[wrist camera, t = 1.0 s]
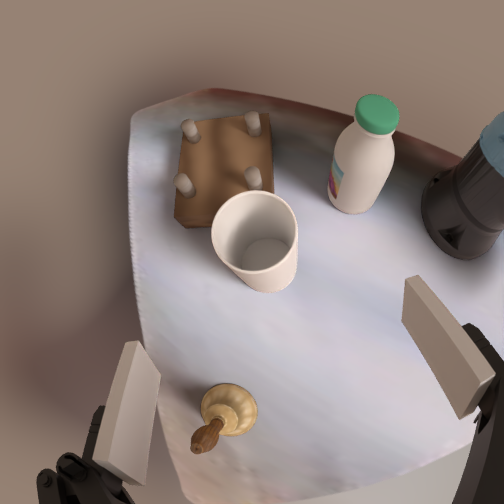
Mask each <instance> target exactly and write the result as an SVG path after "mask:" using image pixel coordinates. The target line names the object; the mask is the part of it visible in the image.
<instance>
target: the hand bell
mask: <svg viewBox="0 0 504 504" xmlns="http://www.w3.org/2000/svg"><path fill="white" fill-rule="evenodd" d="M257 413H258V410H257V404H256V402H255V400H254V398H253V397H252V395H251V394H250V393H249V392H248V391H247V390H245V389H244V388H242V387H240V386H238V385H234V384H220V385H217V386H215V387H213V388H211V389H210V390H209V391H208V392H207V393H206V394H205V395H204V397H203V399H202V402H201V414H202V417H203V419H204V421H205V424H206V425H205V426H202V427H200V428H199V429H197V430H196V431H195V432H194V434H193V436H192V438H191V447H190V449H191V451H192V452H193V453H194V454H201V453H204V452H207V451H210V450H211V449H213V448H214V446H215V445H216V444H217V442H218V439H219V434H220V435H224V436H238V435H241V434H244V433H246V432H247V431H248V430H250V429H251V428H252V426H253V425H254V424H255V422H256V419H257Z"/></svg>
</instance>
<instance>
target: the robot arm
mask: <svg viewBox="0 0 504 504" xmlns="http://www.w3.org/2000/svg"><path fill="white" fill-rule="evenodd" d="M421 209H422V216H423V220H424V223H425V226H426V228H427V231H428V233H429V234H430V236H431V238H432V239H433V240H434V242H435V243H436V244H437V245H438V246H439V247H440V248H441V249H442V250H443V251H444V252H446V253H447V254H449V255H451V256H453V257H455V258H458V259H464V260H468V259H473V258H476V257H478V256H480V255H482V254H484V253H485V252H487V251H488V250H489V249H490V248H491V247H492V245H493V244H494V242H495V241H496V239H497V238H498V236H499V235H500V233H501V231H502V230H503V229H504V112H501V113H500V114H498V115H497V116H496V117H495V118H494V120H493V121H492V122H491V123H490V124H489V125H487V126H486V127H485V128H484V129H483V130H482V132H481V134H480V138H479V139H478V140H477V142H476V143H475V144H474V145H473V147H472V148H471V149H470V150H469V152H468V153H467V154H466V155H465V156H464V158H463V159H462V160H461V161H460V162H459V164H458V165H455V166H453V167H450V168H448V169H445V170H443V171H441V172H439V173H437V174H436V175H435V176H434V177H433V178H432V179H431V181H430V182H429V183H428V184H427V186H426V188H425V190H424V192H423V195H422V202H421ZM401 321H402V323H403V324H404V326H405V327H406V329H407V331H408V332H409V334H410V335H411V337H412V338H413V340H414V342H415V343H416V345H417V347H418V348H419V350H420V351H421V353H422V355H423V356H424V358H425V360H426V361H427V363H428V365H429V366H430V368H431V370H432V372H433V373H434V375H435V377H436V379H437V380H438V382H439V384H440V386H441V387H442V389H443V391H444V393H445V395H446V396H447V398H448V400H449V402H450V404H451V406H452V407H453V409H454V411H455V413H456V415H457V417H458V419H459V420H460V419H462V418H464V417H466V416H468V415H470V414H471V413H473V412H474V411H475V409H476V407H477V406H479V408H480V410H481V411H480V412H479V414H478V415H477V417H476V418H475V420H474V423H476V422H477V420H478V422H477V426H476V431H475V435H474V439H473V442H472V446H471V450H470V453H469V457H468V460H467V463H466V467H465V469H464V472H463V475H462V478H461V481H460V484H459V487H458V489H457V492H456V495H455V497H454V500H453V502H452V504H504V361H503V360H502V358H501V357H500V356H499V354H498V353H497V352H496V350H495V349H494V348H493V346H492V345H490V342H489V341H488V340H487V339H486V338H485V336H484V335H483V333H482V332H481V331H480V330H479V329H478V328H477V327H475V326H474V325H472V324H470V323H468V324H466V325H463V326H461V325H460V324H459V323H458V322H457V320H456V319H455V318H454V317H453V315H452V314H451V313H450V312H449V310H448V309H447V308H446V307H445V305H444V304H443V303H442V302H441V301H440V299H439V298H438V297H437V296H436V295H435V294H434V292H433V291H432V290H431V289H430V288H429V287H428V285H427V284H426V283H425V282H424V281H423V280H422V278H421V277H420V276H419V275H416V276H413V277H410V278H407V279H405V288H404V301H403V311H402V320H401ZM160 380H161V374H160V373H159V371H158V370H157V368H156V367H155V365H154V364H153V362H152V361H151V359H150V358H149V356H148V355H147V353H146V351H145V350H144V348H143V347H142V345H141V344H140V342H139V341H132V342H126V343H125V346H124V349H123V352H122V355H121V358H120V361H119V364H118V367H117V370H116V374H115V377H114V380H113V383H112V387H111V390H110V393H109V397H108V400H107V404H106V406H99V407H98V409H97V410H96V412H95V413H94V415H93V419H92V422H91V426H90V429H89V433H88V437H87V440H86V444H85V448H84V452H83V456H82V459H81V458H80V457H79V456H77V455H75V454H74V453H69V452H68V453H65V454H63V455H62V456H61V457H60V458H59V459H58V461H57V465H56V470H57V473H56V472H54V471H53V470H51V469H44V470H42V471H41V472H40V473H39V474H38V476H37V491H38V499H39V504H135V503H134V501H133V500H132V498H131V497H130V495H129V494H128V492H127V491H126V489H125V488H124V487H123V486H122V481H125V482H126V483H128V484H130V485H138V486H145V480H146V472H147V463H148V456H149V448H150V441H151V434H152V428H153V421H154V414H155V409H156V403H157V397H158V391H159V385H160Z"/></svg>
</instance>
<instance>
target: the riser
mask: <svg viewBox="0 0 504 504" xmlns="http://www.w3.org/2000/svg"><path fill="white" fill-rule="evenodd" d="M181 128H182V130H183V137H182V145H181V153H180V161H179V169H178V175H176V176H175V178H174V184H175V186H176V187H177V188H176V198H175V209H174V218H175V219H176V220H177V221H178V222H179V223H180V224H181V225H182V226H184V227H185V228H199V227H212V224H213V220H214V218H215V216H216V214H217V212H218V210H219V209H220V208H221V206H222V205H223V204H224V203H225V202H226V201H228V200H229V199H230V198H232V197H233V196H235V195H237V194H240V193H243V192H246V191H254V190H258V191H266V192H269V193H272V194H274V175H273V153H272V132H271V125H270V119H269V113H265V114H258V113H257V112H255V111H249V112H247V113H246V114H245V115H243V116H234V117H225V118H217V119H210V120H203V121H196V122H193V120H191V119H186V120H184V121H183V122H182V123H181Z"/></svg>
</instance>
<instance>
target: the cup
mask: <svg viewBox="0 0 504 504" xmlns="http://www.w3.org/2000/svg"><path fill="white" fill-rule="evenodd" d="M211 238H212V243H213V246H214V249H215V251H216V253H217V255H218V256H219V258H220V259H221V260H222V261H223V262H224V263H225V264H226V265H227V266H228V267H229V268H230V269H231V270H232V271H233V272H234V273H235V274H236V275H238V276H239V277H240V278H241V279H242V280H243V281H244V282H245V283H246V284H247V285H249V286H250V287H251V288H252V289H254V290H256V291H259V292H262V293H274V292H277V291H280V290H282V289H284V288H285V287H286V286H288V285H289V284H290V282H291V281H292V280H293V278H294V276H295V274H296V270H297V250H298V226H297V221H296V218H295V215H294V213H293V211H292V209H291V208H290V207H289V205H288V204H287V203H286V202H285V201H284V200H283V199H281V198H280V197H278V196H277V195H275V194H272V193H269V192H266V191H258V190H254V191H246V192H243V193H240V194H237V195H235V196H233V197H232V198H230V199H229V200H228V201H226V202H225V203H224V204H223V205H222V206H221V208H220V209H219V210H218V212H217V214H216V216H215V218H214V220H213V224H212V229H211Z"/></svg>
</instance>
